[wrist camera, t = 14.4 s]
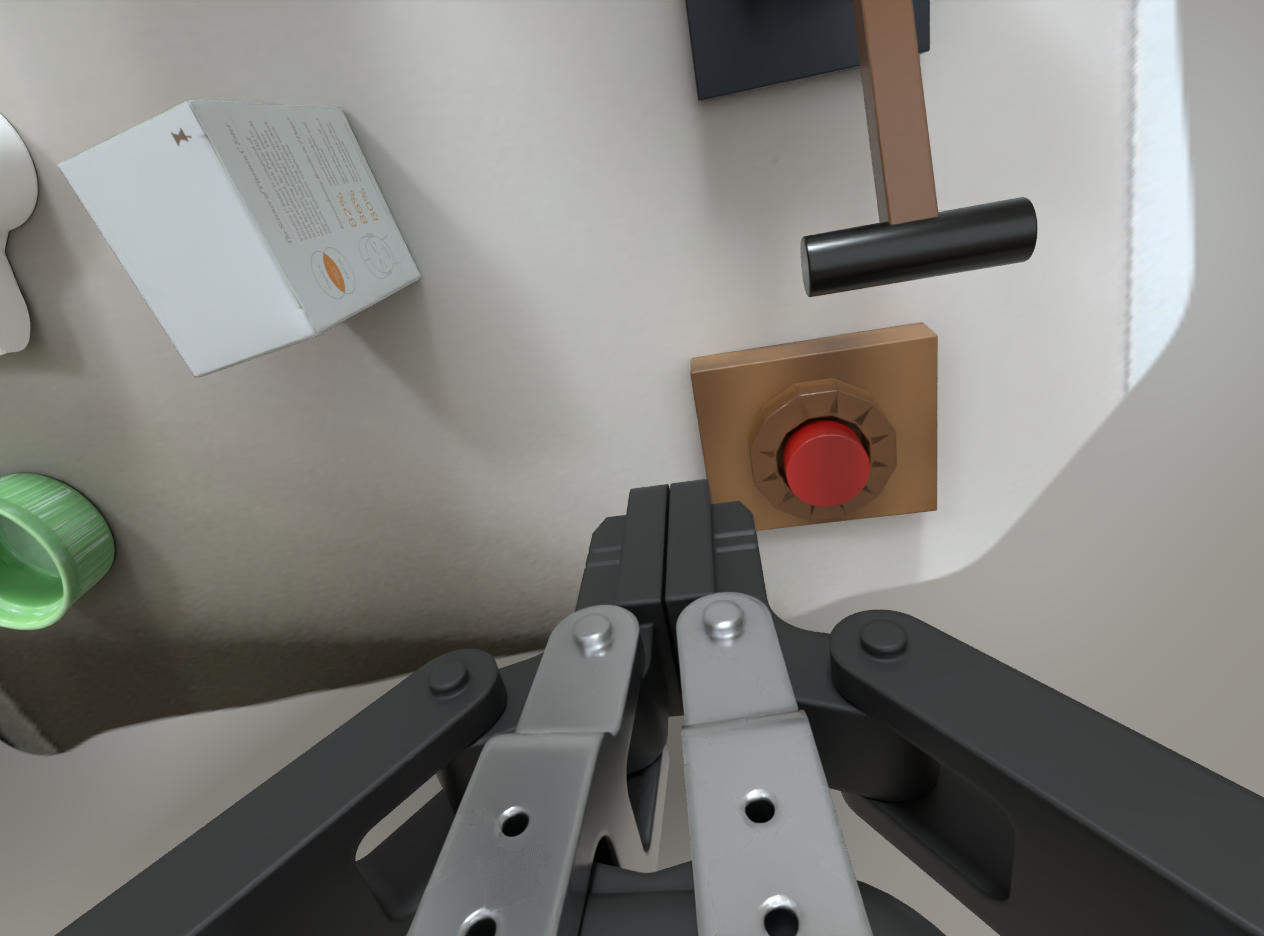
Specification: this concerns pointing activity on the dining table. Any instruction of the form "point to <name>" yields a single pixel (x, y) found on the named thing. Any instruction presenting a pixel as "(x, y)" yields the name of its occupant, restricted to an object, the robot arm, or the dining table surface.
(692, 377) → the button block
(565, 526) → the dining table surface
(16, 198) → the white brass knuckles
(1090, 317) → the dining table surface
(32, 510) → the ramekin
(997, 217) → the lever
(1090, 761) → the robot arm
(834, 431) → the button
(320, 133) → the small box
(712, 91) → the bracket
